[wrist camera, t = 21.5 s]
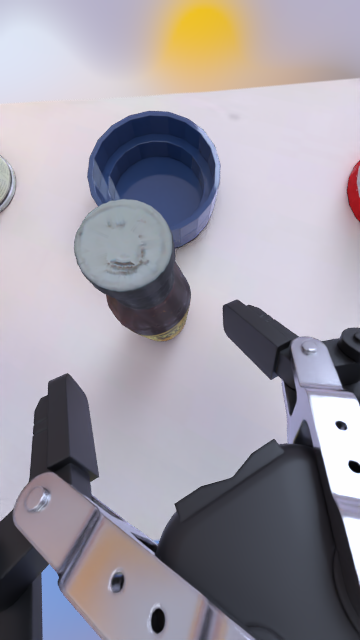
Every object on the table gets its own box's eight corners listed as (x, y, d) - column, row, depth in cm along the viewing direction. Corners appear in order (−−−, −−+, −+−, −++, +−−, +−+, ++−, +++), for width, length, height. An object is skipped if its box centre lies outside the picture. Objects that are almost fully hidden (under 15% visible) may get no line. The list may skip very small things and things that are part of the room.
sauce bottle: (170, 350, 28) (140, 369, 8) (129, 325, 28) (3, 284, 8) (196, 306, 28) (228, 224, 9) (155, 282, 29) (96, 151, 9)
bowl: (139, 273, 29) (130, 258, 24) (83, 183, 30) (64, 152, 25) (235, 214, 30) (246, 188, 25) (175, 129, 31) (174, 89, 26)
